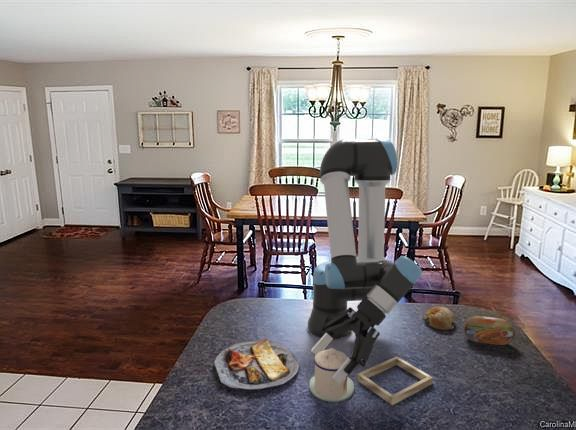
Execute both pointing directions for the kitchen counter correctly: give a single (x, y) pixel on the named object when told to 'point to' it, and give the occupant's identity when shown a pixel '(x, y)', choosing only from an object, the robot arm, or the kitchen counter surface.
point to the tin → (489, 330)
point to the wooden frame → (402, 394)
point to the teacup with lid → (329, 373)
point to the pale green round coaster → (348, 394)
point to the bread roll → (440, 318)
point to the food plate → (256, 364)
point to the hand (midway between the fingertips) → (324, 366)
